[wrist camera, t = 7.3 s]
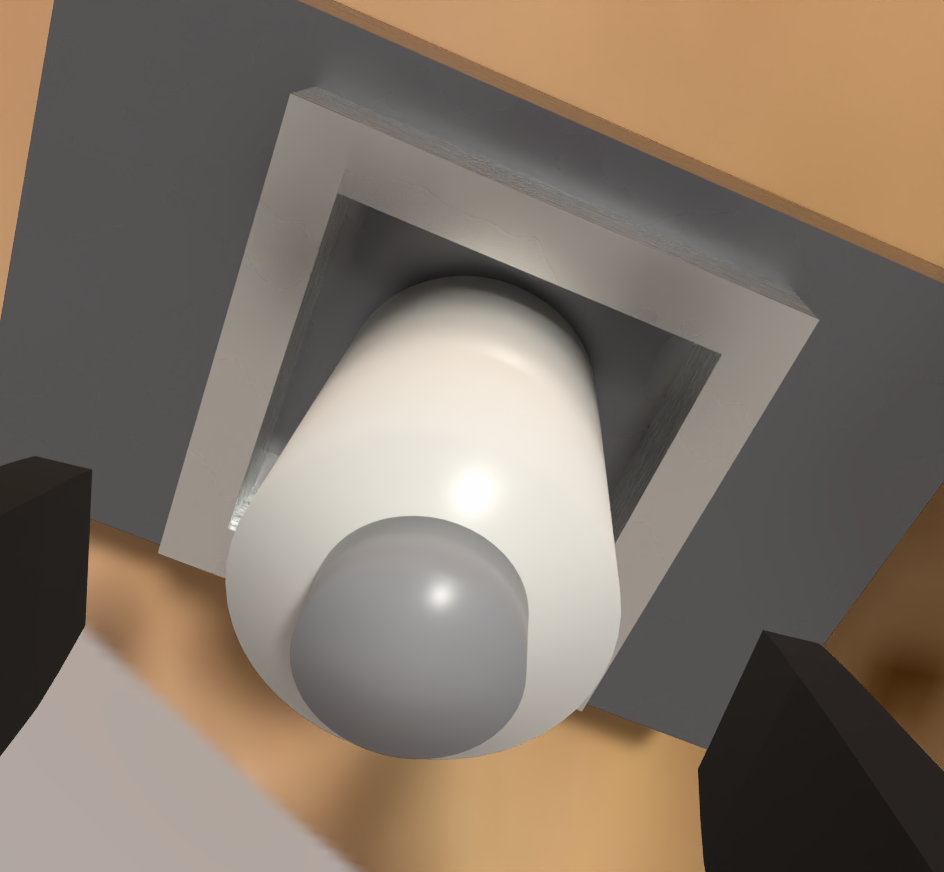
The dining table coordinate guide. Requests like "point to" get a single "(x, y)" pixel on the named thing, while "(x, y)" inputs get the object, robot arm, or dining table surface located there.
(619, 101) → the dining table surface
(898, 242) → the dining table surface
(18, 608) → the robot arm
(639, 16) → the dining table surface
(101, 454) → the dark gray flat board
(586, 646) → the white capped cylinder
